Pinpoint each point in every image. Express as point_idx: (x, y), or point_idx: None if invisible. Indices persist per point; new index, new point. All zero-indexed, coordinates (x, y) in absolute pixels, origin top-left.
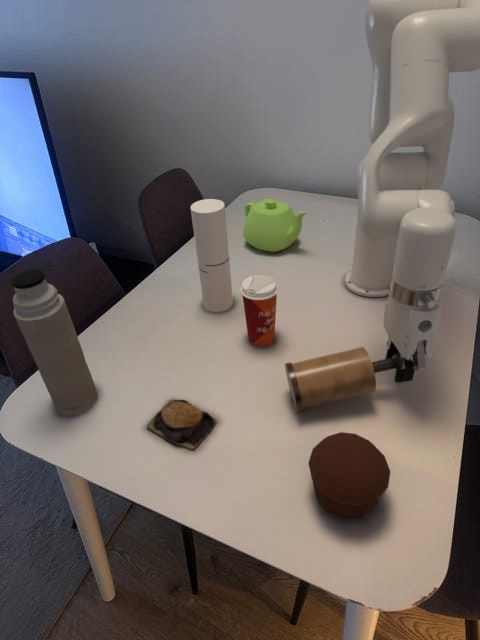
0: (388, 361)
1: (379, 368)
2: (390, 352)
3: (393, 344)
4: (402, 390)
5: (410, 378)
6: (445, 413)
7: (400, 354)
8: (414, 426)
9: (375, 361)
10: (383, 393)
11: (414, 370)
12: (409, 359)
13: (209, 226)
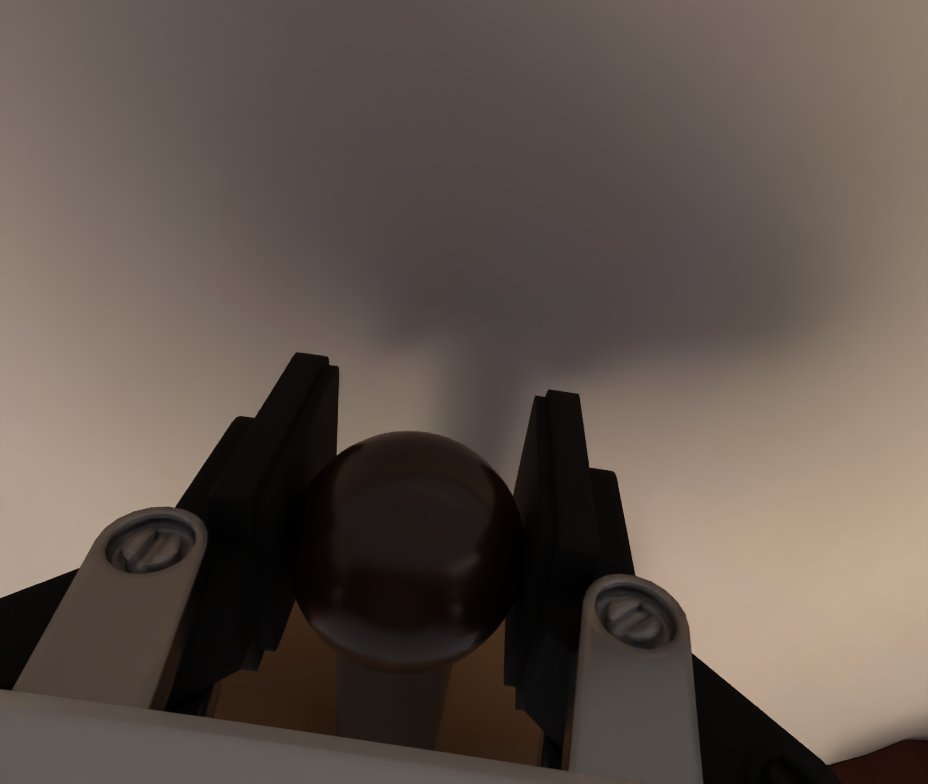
0: (403, 694)
1: (437, 723)
2: (276, 638)
3: (197, 686)
4: (483, 294)
5: (616, 488)
6: (869, 108)
7: (387, 663)
8: (819, 405)
9: (352, 738)
10: (463, 426)
11: (589, 481)
12: (474, 560)
13: None
